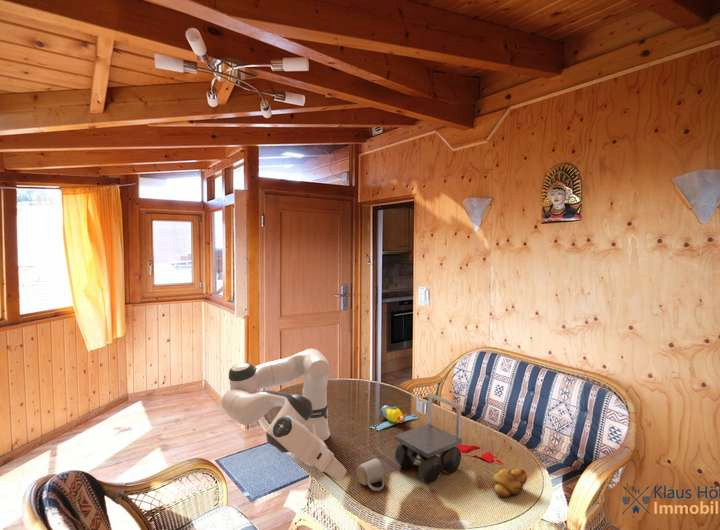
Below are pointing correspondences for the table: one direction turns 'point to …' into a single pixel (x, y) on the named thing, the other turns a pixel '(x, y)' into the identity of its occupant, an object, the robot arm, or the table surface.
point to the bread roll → (509, 482)
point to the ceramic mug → (371, 473)
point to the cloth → (486, 456)
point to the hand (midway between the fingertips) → (336, 470)
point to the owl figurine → (393, 416)
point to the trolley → (430, 446)
